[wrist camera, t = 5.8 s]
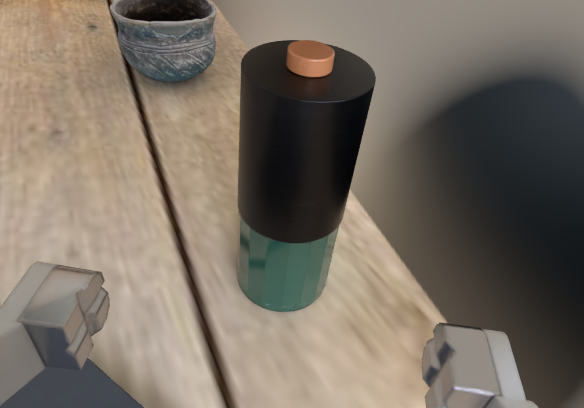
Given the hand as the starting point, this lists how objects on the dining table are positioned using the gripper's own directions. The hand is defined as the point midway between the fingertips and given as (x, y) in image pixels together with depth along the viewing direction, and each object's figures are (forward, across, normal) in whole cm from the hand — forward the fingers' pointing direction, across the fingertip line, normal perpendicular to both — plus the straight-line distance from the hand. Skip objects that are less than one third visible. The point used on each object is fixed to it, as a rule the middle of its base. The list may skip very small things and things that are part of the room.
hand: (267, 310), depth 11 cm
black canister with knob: (+12, 0, +8) cm, 14 cm away
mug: (+38, +16, +13) cm, 43 cm away
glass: (+12, 0, +13) cm, 18 cm away
